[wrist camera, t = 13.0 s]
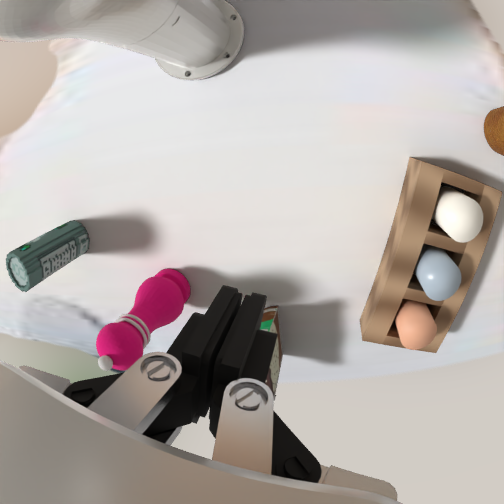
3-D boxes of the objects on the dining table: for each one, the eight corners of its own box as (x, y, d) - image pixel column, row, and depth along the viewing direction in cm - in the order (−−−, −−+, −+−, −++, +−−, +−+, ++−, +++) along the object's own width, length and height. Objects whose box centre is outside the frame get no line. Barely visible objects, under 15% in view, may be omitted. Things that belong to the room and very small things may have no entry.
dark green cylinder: (66, 216, 48) (4, 247, 34) (90, 228, 48) (27, 263, 34) (65, 245, 51) (8, 280, 37) (87, 258, 50) (30, 297, 37)
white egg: (433, 181, 32) (453, 192, 27) (465, 192, 32) (488, 205, 26) (423, 219, 34) (440, 236, 29) (455, 229, 34) (474, 247, 28)
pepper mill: (200, 280, 46) (133, 367, 28) (185, 313, 49) (124, 399, 31) (159, 257, 46) (78, 330, 28) (148, 291, 50) (76, 367, 31)
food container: (236, 297, 46) (215, 337, 37) (277, 296, 45) (264, 339, 36) (247, 359, 50) (231, 402, 41) (283, 360, 49) (273, 405, 40)
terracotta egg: (399, 288, 38) (409, 314, 33) (429, 295, 38) (443, 321, 32) (387, 318, 40) (394, 346, 35) (416, 324, 40) (426, 352, 34)
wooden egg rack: (409, 157, 33) (421, 161, 29) (484, 184, 32) (502, 192, 27) (359, 319, 43) (362, 340, 39) (428, 332, 41) (435, 353, 37)
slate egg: (417, 237, 35) (433, 257, 30) (449, 246, 35) (467, 266, 29) (405, 272, 37) (417, 296, 32) (436, 280, 37) (451, 304, 31)
